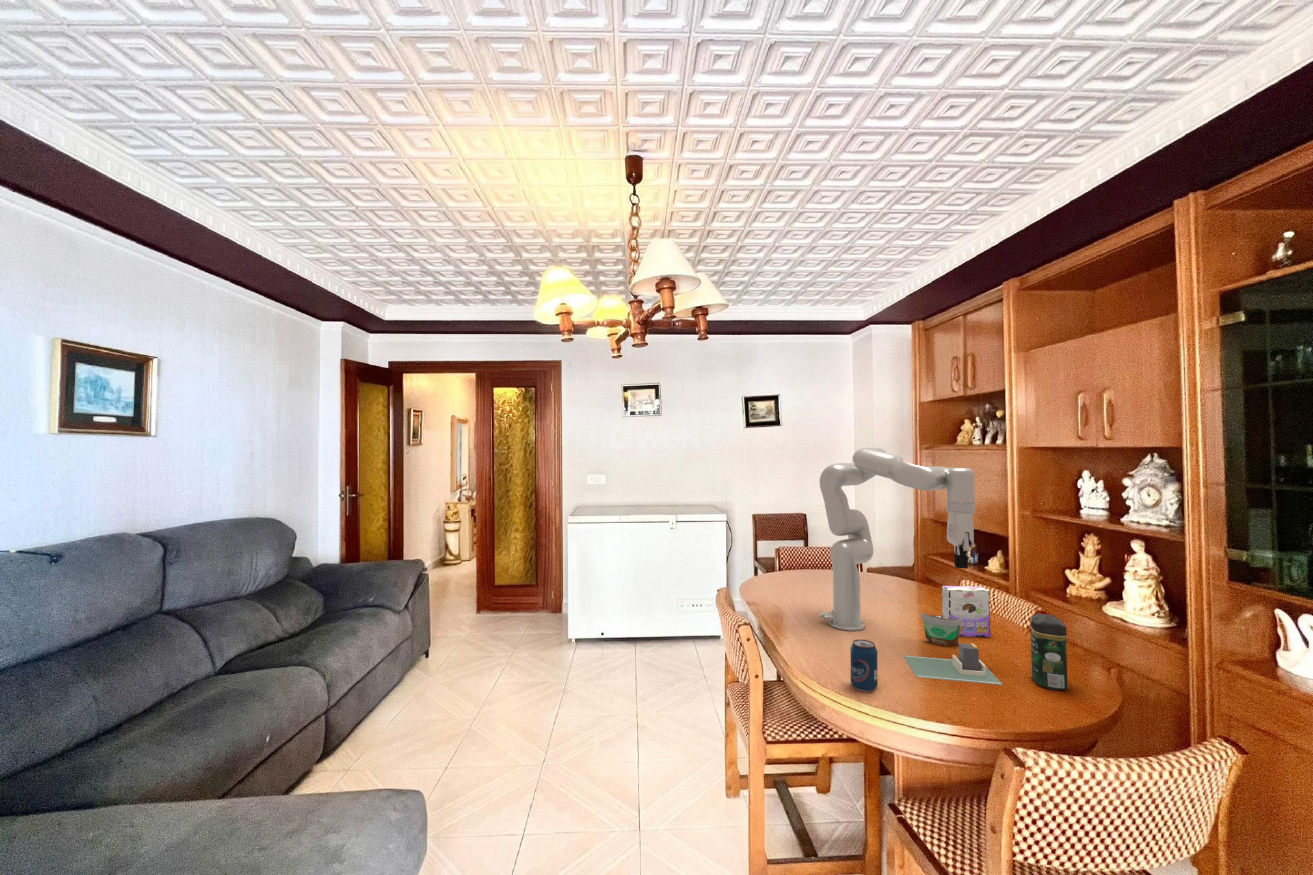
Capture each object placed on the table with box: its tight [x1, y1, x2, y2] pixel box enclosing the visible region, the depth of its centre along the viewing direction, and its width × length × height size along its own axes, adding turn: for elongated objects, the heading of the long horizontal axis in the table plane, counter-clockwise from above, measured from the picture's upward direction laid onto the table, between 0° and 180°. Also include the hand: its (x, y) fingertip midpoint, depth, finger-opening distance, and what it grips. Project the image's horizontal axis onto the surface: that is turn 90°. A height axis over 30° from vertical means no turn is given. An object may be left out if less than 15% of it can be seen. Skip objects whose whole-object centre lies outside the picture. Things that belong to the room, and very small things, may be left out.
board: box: [902, 654, 1004, 686], centre depth 154 cm, size 22×16×1 cm
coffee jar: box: [1030, 613, 1069, 691], centre depth 148 cm, size 10×8×19 cm
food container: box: [920, 612, 963, 647], centre depth 175 cm, size 12×6×10 cm, turn 62°
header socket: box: [952, 654, 987, 677], centre depth 153 cm, size 7×7×3 cm
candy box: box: [941, 585, 991, 638], centre depth 187 cm, size 14×6×16 cm, turn 84°
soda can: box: [849, 639, 879, 693], centre depth 146 cm, size 7×7×12 cm
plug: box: [958, 642, 980, 671], centre depth 153 cm, size 4×4×7 cm
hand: (961, 567), depth 162 cm, fingers closed
